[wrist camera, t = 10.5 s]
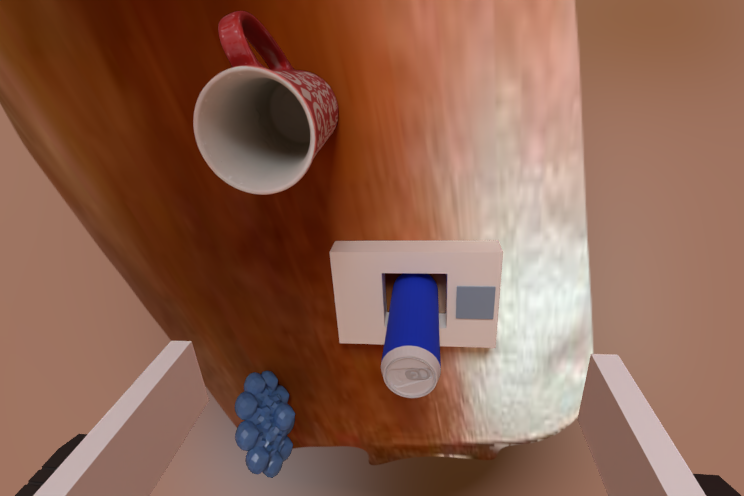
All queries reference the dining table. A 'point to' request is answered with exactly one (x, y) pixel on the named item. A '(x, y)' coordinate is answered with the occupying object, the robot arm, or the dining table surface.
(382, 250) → the socket board
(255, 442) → the grapes
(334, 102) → the mug
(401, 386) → the beverage can
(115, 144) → the dining table surface
